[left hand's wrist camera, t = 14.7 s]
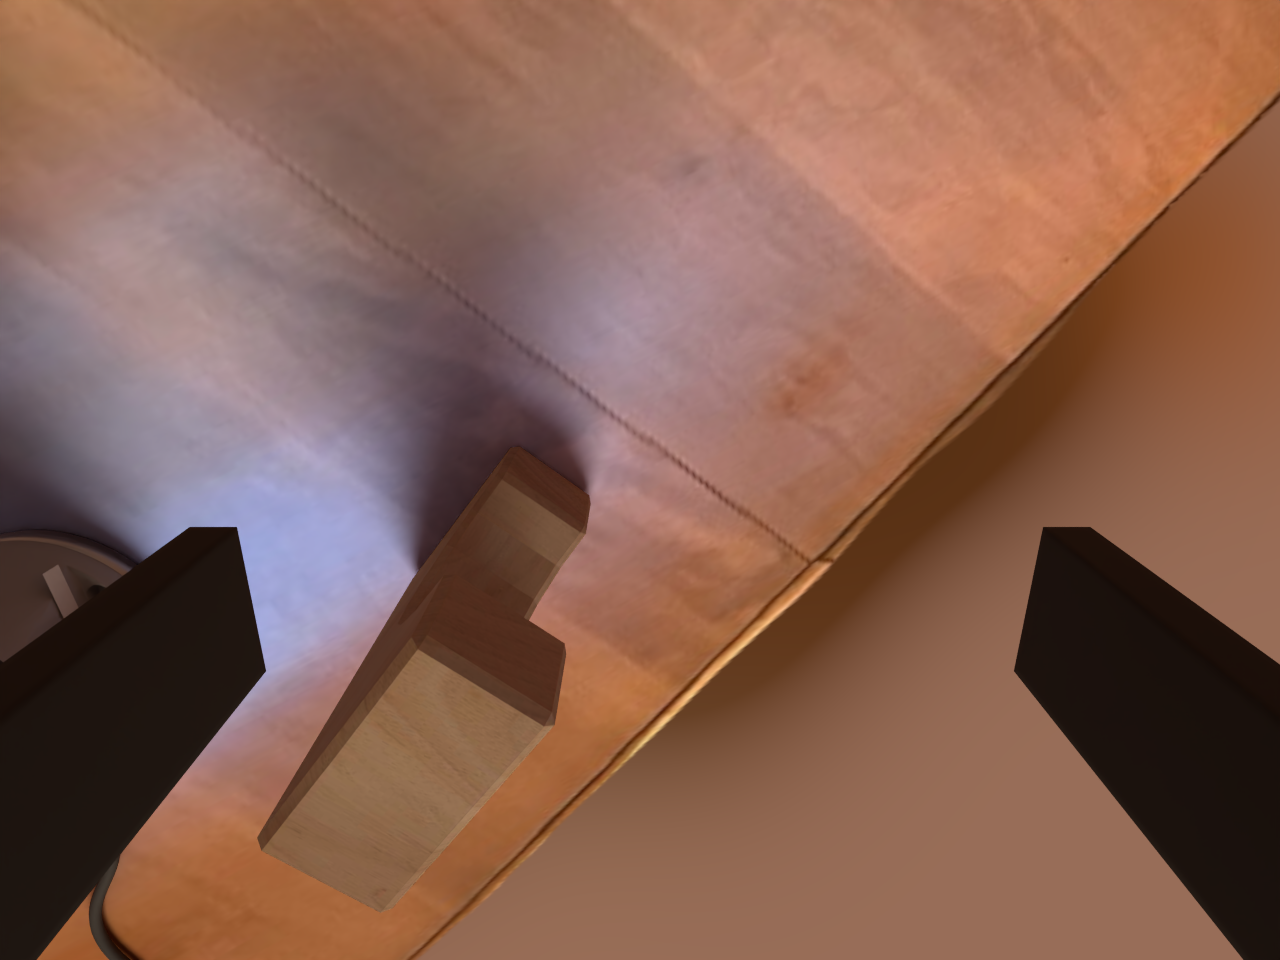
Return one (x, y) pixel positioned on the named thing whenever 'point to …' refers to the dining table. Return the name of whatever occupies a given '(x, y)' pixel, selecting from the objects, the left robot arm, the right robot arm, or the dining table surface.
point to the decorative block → (438, 696)
